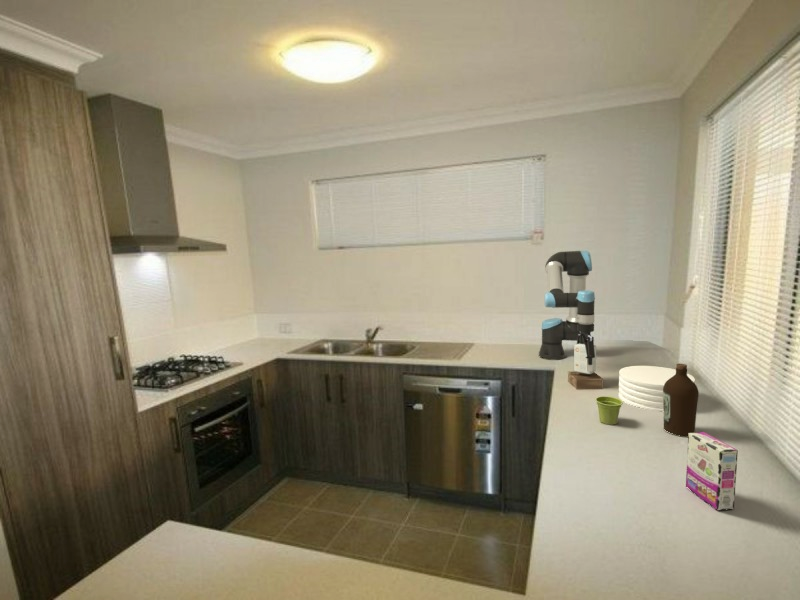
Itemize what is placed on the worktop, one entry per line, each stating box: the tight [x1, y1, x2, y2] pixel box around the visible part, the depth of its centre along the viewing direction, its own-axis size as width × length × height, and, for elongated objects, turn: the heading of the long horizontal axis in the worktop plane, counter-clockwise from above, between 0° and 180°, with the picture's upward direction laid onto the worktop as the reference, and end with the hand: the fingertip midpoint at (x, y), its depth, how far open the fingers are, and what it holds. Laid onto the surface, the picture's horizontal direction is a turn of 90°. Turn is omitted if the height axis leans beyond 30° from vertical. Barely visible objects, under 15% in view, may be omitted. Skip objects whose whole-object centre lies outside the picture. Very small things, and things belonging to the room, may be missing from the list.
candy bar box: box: [685, 431, 739, 511], centre depth 112 cm, size 11×5×16 cm, turn 5°
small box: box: [573, 343, 597, 374], centre depth 203 cm, size 8×6×13 cm
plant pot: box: [595, 395, 624, 425], centre depth 162 cm, size 9×9×9 cm
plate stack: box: [618, 365, 696, 412], centre depth 182 cm, size 28×28×12 cm
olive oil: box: [663, 363, 700, 437], centre depth 151 cm, size 11×11×25 cm
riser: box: [567, 370, 604, 390], centre depth 204 cm, size 12×12×5 cm
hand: (584, 367), depth 204 cm, fingers closed on small box, 10 cm apart
